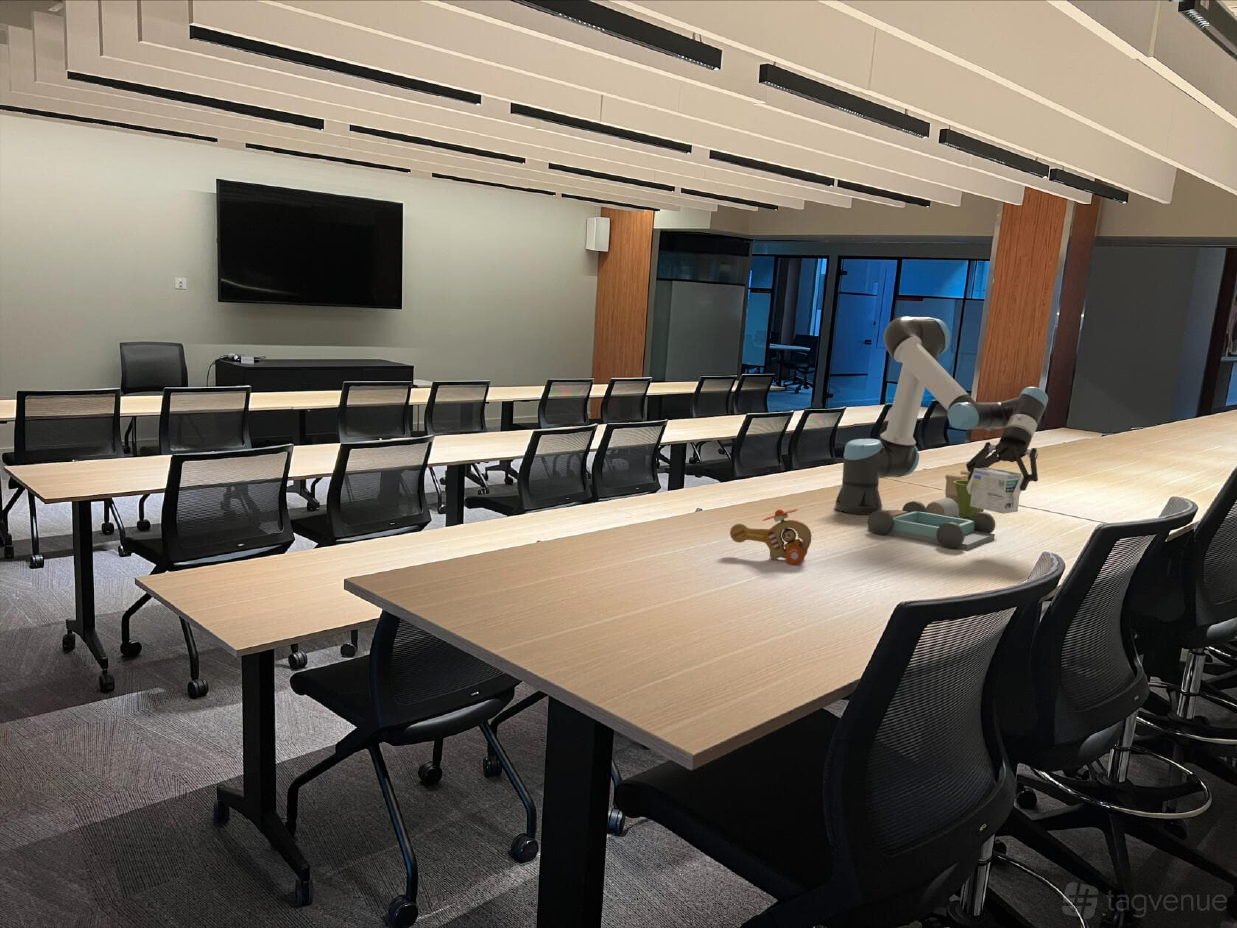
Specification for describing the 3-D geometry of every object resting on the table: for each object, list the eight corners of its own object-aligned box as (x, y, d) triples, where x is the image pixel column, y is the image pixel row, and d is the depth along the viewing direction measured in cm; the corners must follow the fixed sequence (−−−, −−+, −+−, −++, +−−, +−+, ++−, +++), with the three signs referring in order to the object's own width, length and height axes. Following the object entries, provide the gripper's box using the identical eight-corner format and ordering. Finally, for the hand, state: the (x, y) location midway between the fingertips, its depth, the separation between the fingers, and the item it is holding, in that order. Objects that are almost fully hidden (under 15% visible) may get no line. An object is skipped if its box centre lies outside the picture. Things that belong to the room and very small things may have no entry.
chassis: (863, 531, 270) (865, 508, 269) (901, 520, 288) (903, 498, 287) (963, 551, 250) (965, 526, 249) (997, 537, 268) (999, 514, 267)
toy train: (978, 499, 331) (980, 471, 329) (958, 504, 319) (961, 476, 317) (963, 496, 335) (965, 469, 333) (943, 502, 323) (945, 474, 321)
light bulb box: (1018, 512, 246) (1023, 473, 244) (1003, 514, 242) (1007, 474, 240) (983, 504, 254) (988, 466, 253) (968, 506, 251) (972, 468, 249)
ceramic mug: (922, 521, 287) (924, 498, 286) (937, 519, 292) (939, 495, 291) (952, 529, 279) (954, 504, 278) (967, 526, 284) (969, 502, 282)
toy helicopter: (807, 566, 228) (811, 513, 226) (726, 557, 234) (728, 505, 232) (811, 559, 235) (815, 507, 233) (732, 550, 242) (735, 499, 240)
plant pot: (996, 518, 296) (1000, 484, 295) (974, 522, 290) (978, 487, 288) (965, 511, 306) (968, 478, 304) (943, 514, 299) (946, 481, 298)
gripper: (973, 420, 260) (945, 479, 251) (1061, 430, 244) (1034, 493, 235) (978, 437, 264) (951, 495, 256) (1065, 448, 249) (1039, 510, 240)
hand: (991, 494), depth 246 cm, fingers closed on light bulb box, 12 cm apart
